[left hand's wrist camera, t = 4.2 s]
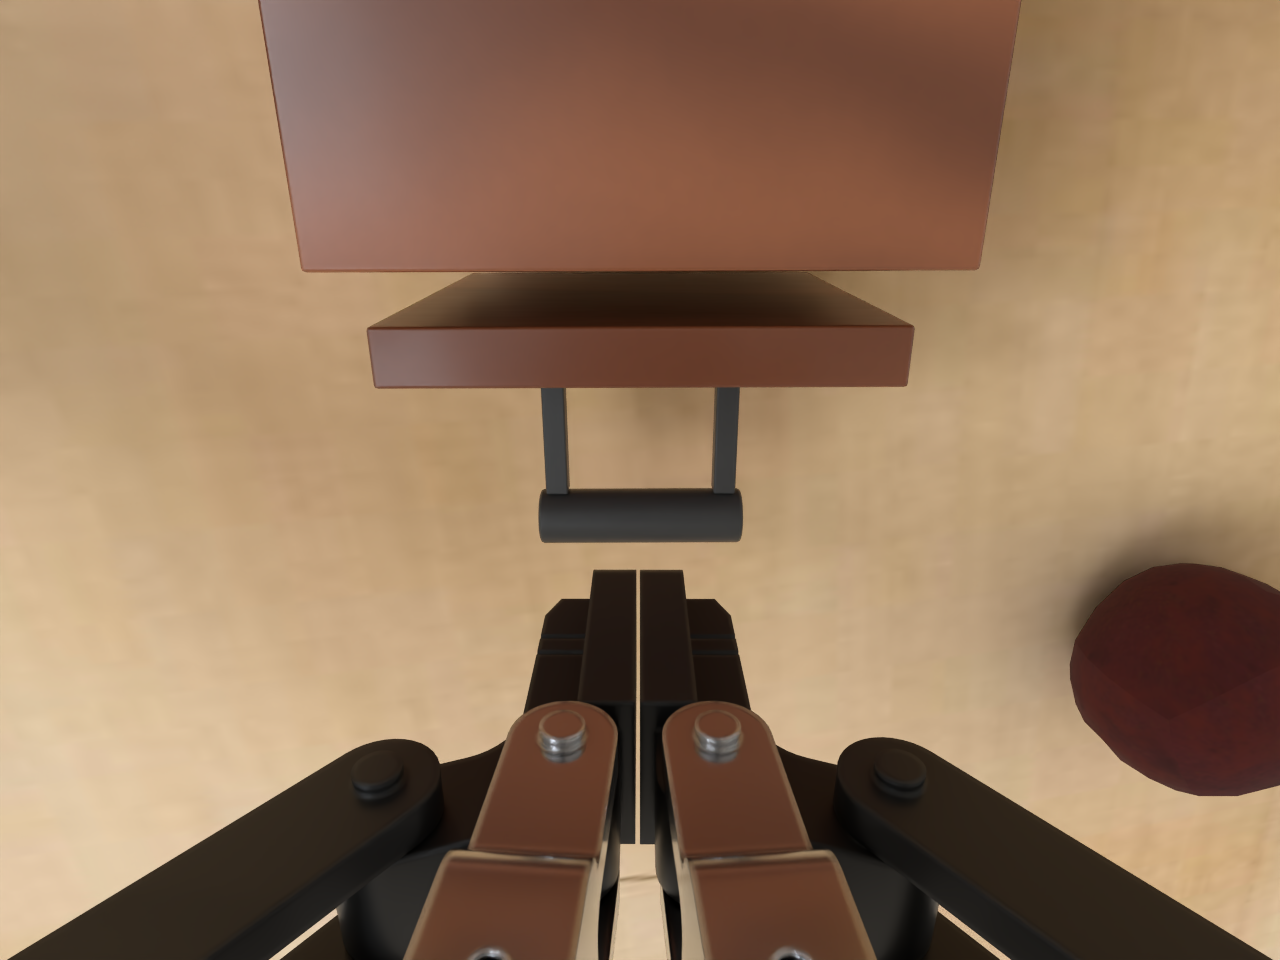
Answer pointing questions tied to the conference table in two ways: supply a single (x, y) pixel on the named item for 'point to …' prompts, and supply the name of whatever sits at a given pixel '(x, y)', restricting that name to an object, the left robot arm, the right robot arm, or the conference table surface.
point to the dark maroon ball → (1186, 678)
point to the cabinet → (639, 132)
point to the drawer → (640, 368)
